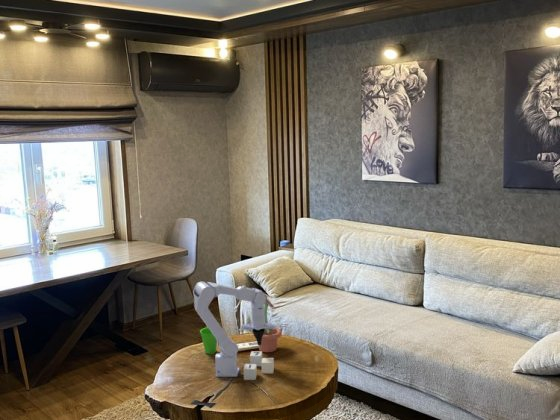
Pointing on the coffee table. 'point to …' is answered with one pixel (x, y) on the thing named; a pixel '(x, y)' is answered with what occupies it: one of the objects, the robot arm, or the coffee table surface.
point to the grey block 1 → (250, 371)
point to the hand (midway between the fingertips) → (259, 344)
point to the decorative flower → (269, 333)
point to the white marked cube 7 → (256, 357)
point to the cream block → (267, 365)
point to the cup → (208, 340)
